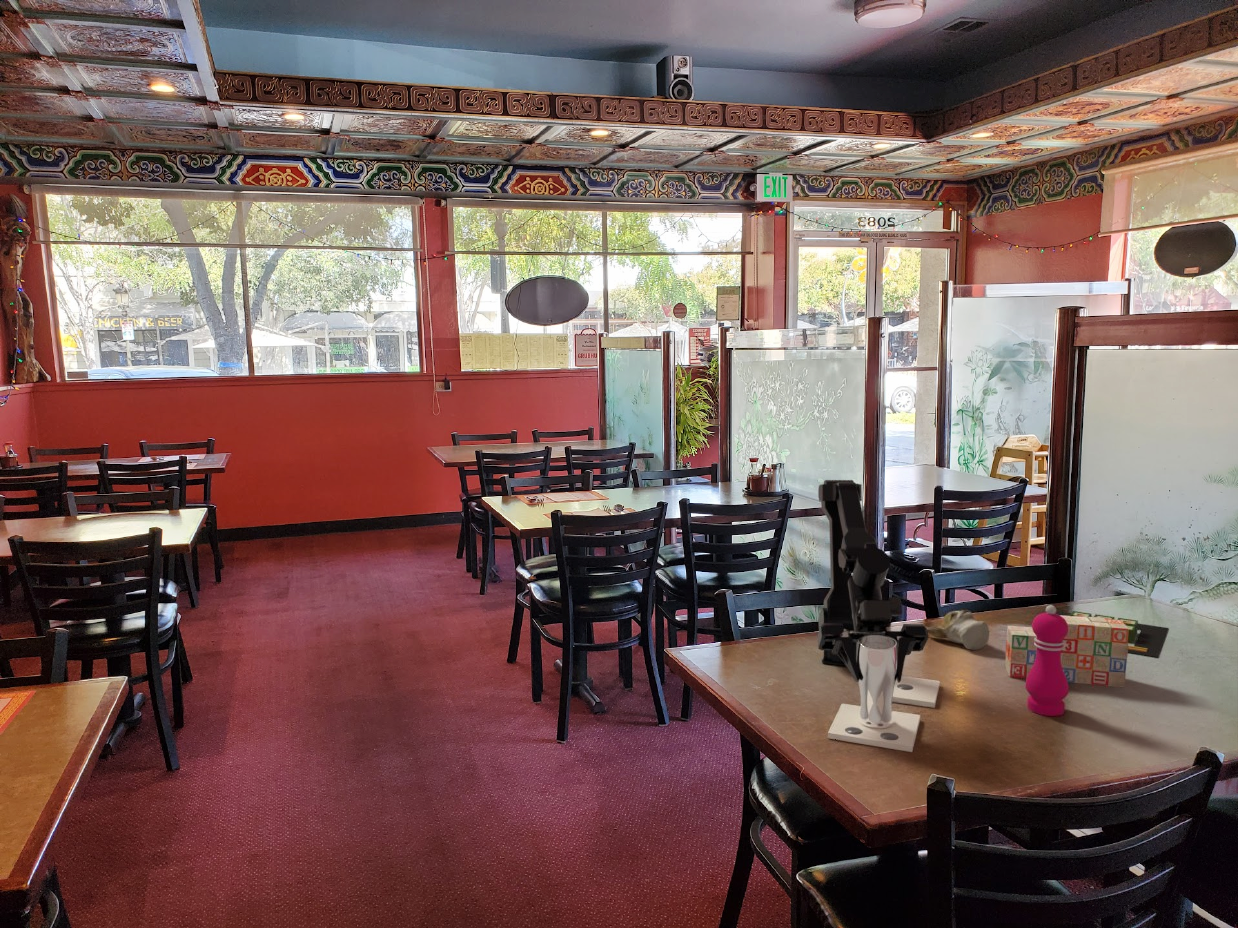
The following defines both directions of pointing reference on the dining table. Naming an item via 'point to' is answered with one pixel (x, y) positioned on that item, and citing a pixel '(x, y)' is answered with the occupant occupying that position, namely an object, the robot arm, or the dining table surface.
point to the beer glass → (876, 679)
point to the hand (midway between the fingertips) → (878, 681)
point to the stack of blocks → (1076, 651)
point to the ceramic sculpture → (962, 629)
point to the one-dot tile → (916, 691)
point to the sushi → (1146, 641)
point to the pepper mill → (1048, 665)
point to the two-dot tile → (891, 737)
